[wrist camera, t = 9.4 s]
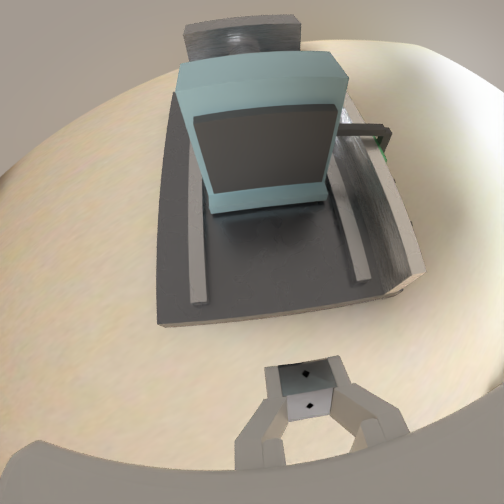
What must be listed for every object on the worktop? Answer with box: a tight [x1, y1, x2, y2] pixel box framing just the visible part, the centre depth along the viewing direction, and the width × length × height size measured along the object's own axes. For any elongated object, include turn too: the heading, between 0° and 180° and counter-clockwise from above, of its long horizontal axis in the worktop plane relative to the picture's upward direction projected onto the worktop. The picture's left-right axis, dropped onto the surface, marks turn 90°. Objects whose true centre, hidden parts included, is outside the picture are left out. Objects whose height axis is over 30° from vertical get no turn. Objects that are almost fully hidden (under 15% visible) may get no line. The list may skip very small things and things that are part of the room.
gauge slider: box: [175, 51, 392, 214], centre depth 15 cm, size 5×13×9 cm, turn 96°
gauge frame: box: [156, 15, 427, 328], centre depth 18 cm, size 24×16×10 cm, turn 6°
